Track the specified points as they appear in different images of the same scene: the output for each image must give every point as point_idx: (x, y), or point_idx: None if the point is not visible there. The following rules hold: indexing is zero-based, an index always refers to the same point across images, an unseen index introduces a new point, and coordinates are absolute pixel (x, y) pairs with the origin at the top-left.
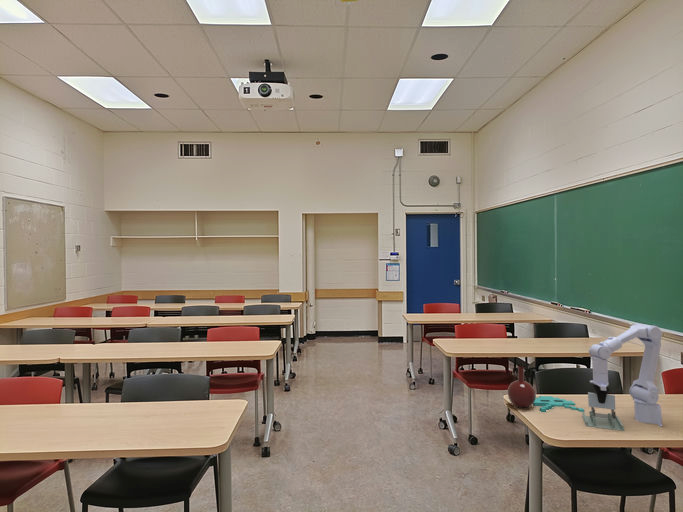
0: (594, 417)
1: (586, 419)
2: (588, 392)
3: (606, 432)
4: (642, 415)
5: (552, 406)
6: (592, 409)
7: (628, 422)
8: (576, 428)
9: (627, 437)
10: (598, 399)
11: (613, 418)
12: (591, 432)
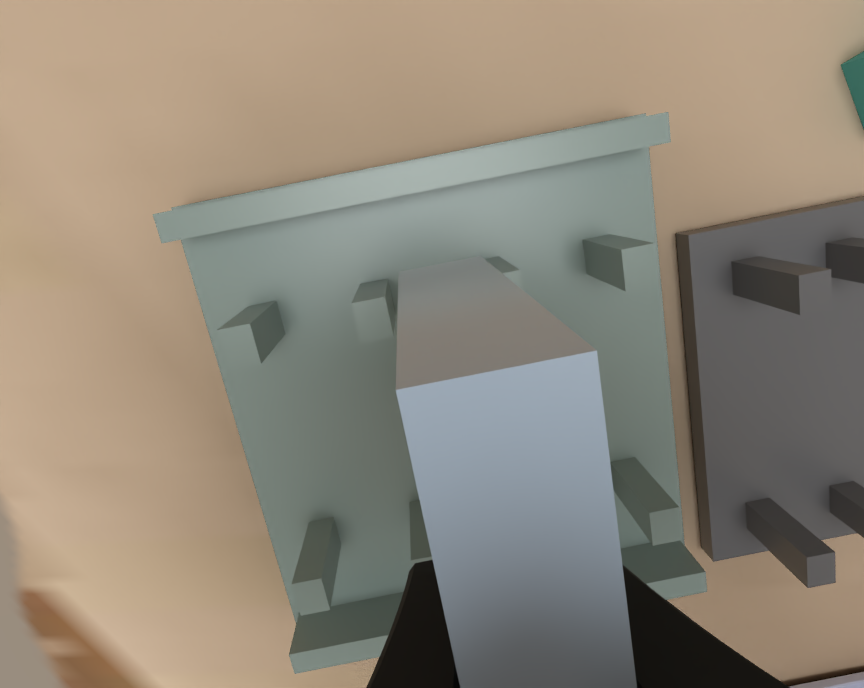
0: (360, 335)
1: (262, 212)
2: (570, 381)
3: (188, 449)
4: None
5: None
6: (796, 276)
7: (725, 630)
8: (60, 79)
9: (177, 641)
10: (392, 632)
11: (740, 506)
12: (46, 287)
